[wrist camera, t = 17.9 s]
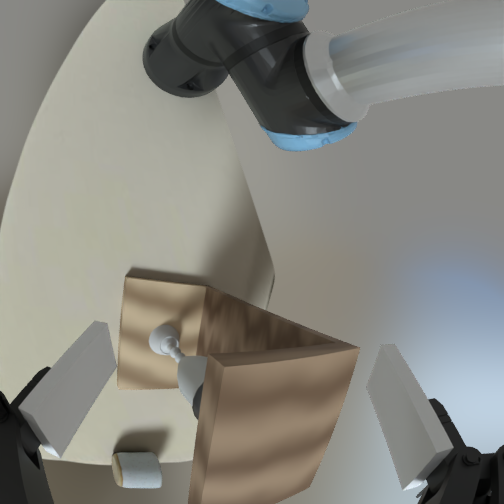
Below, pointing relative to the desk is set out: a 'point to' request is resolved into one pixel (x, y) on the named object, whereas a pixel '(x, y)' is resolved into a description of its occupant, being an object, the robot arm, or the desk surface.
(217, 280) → the desk surface
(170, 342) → the chalice
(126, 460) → the ceramic mug
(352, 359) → the walnut shelf
